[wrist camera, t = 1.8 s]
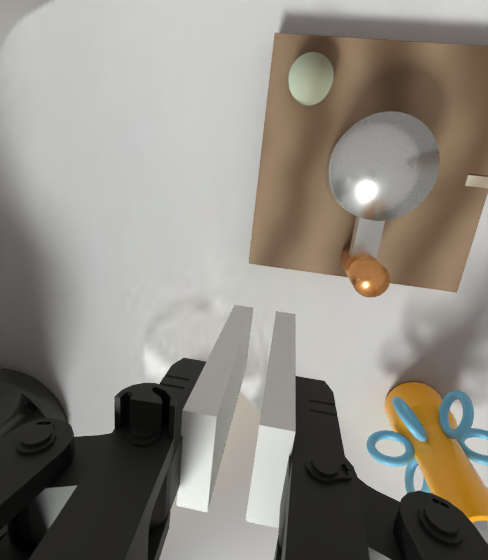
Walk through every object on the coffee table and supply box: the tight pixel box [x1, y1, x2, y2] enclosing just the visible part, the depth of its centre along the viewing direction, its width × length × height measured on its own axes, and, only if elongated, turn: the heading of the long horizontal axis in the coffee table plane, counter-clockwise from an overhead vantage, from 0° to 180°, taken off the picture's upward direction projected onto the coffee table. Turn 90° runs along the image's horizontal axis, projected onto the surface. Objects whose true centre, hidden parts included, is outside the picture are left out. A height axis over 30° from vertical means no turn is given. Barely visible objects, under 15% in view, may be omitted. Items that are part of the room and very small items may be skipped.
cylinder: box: [367, 382, 488, 544], centre depth 31 cm, size 12×10×15 cm
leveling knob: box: [326, 111, 440, 297], centre depth 27 cm, size 13×8×8 cm, turn 174°
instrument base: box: [249, 33, 488, 292], centre depth 30 cm, size 20×20×4 cm
